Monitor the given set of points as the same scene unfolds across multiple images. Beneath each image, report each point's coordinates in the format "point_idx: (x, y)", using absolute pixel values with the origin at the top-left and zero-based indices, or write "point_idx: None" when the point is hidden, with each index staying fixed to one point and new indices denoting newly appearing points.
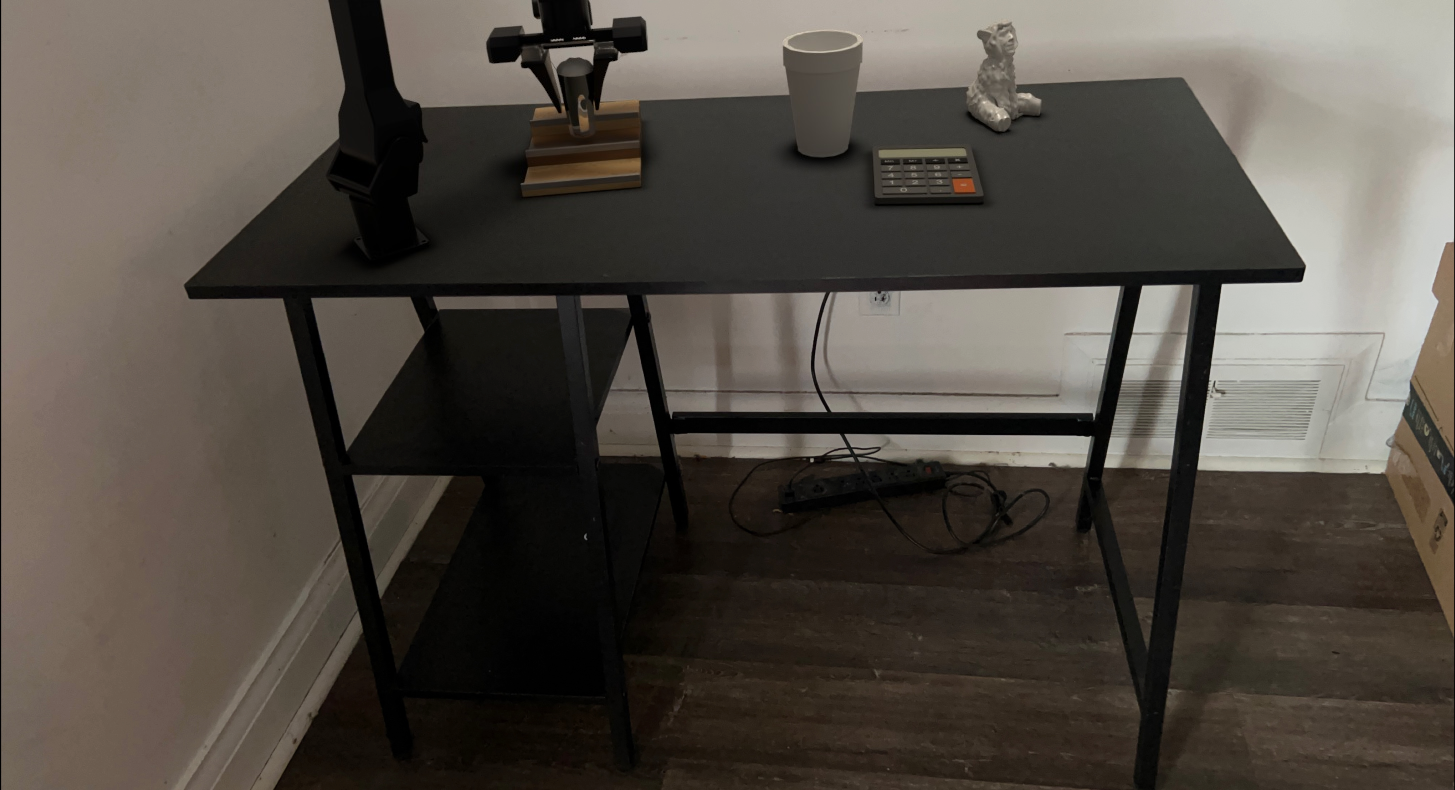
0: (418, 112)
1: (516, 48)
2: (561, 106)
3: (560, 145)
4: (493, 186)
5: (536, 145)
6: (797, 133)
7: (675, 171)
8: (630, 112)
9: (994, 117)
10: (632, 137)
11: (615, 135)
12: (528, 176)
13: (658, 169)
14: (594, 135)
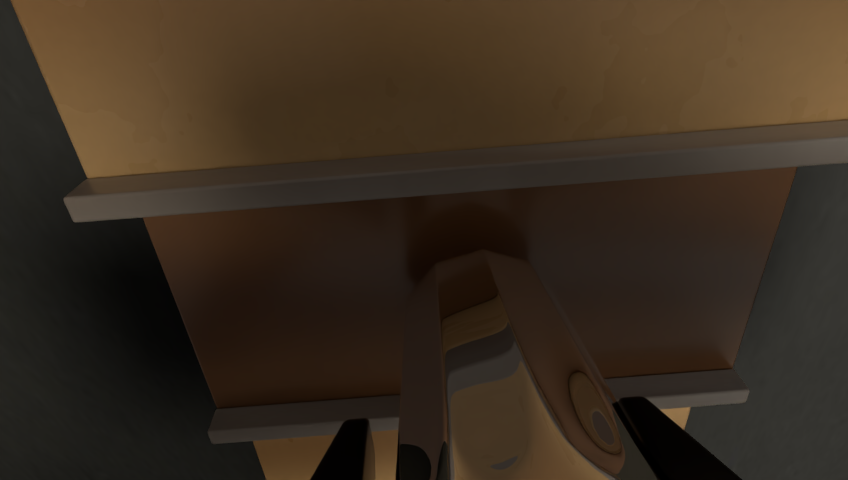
0: None
1: None
2: (368, 453)
3: (350, 322)
4: (143, 443)
5: (214, 305)
6: None
7: (797, 397)
8: (836, 162)
9: None
10: (728, 268)
11: (644, 232)
12: (267, 455)
13: (744, 378)
14: (524, 215)
